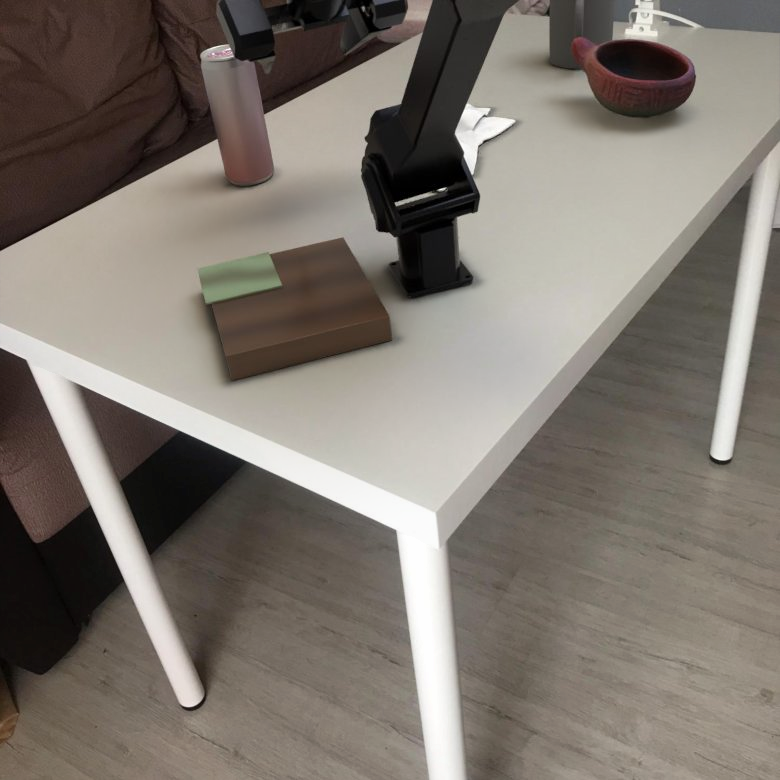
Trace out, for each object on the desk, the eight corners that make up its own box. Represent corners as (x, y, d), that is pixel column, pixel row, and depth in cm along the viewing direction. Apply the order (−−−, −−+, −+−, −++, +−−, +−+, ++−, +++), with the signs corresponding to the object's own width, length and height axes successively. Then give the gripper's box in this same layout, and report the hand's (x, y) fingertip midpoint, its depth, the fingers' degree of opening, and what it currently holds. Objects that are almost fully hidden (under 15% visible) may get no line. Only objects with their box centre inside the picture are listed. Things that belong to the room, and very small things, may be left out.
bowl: (696, 96, 112) (703, 32, 108) (687, 133, 103) (694, 65, 98) (572, 94, 118) (573, 33, 113) (553, 129, 108) (553, 64, 104)
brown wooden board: (392, 340, 74) (389, 313, 72) (226, 382, 72) (218, 355, 70) (346, 259, 87) (343, 234, 85) (203, 292, 84) (196, 268, 83)
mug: (551, 51, 134) (552, -33, 127) (612, 49, 132) (616, -37, 124) (544, 80, 123) (544, -10, 116) (610, 78, 121) (615, -14, 114)
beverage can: (221, 175, 107) (192, 51, 98) (266, 163, 109) (242, 39, 100) (234, 191, 103) (206, 63, 94) (281, 178, 105) (258, 51, 96)
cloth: (433, 106, 120) (432, 89, 118) (529, 111, 114) (529, 94, 113) (347, 184, 101) (344, 165, 100) (456, 194, 96) (455, 175, 95)
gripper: (381, -130, 84) (354, -18, 99) (196, -97, 79) (197, 16, 93) (426, -34, 82) (392, 65, 97) (239, 6, 77) (233, 104, 92)
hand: (304, 60), depth 95 cm, fingers open, 9 cm apart
